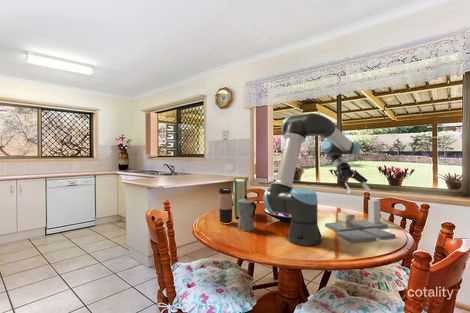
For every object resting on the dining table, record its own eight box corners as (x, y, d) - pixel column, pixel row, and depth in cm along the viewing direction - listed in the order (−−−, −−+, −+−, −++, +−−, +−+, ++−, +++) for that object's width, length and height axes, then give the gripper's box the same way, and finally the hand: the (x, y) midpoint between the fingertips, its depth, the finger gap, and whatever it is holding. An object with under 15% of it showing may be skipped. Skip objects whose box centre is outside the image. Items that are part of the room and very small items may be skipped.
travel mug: (220, 221, 150) (219, 188, 150) (232, 221, 150) (232, 187, 150) (218, 224, 142) (218, 189, 142) (232, 224, 142) (231, 189, 142)
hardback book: (247, 218, 155) (246, 180, 155) (235, 218, 155) (234, 180, 155) (244, 212, 173) (244, 177, 173) (233, 212, 173) (233, 177, 172)
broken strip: (352, 243, 110) (352, 239, 110) (335, 235, 121) (335, 232, 121) (395, 237, 116) (395, 234, 116) (376, 230, 127) (376, 227, 127)
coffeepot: (232, 227, 137) (231, 194, 136) (246, 224, 142) (245, 193, 142) (248, 234, 124) (248, 198, 124) (263, 231, 129) (262, 196, 129)
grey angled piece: (339, 232, 124) (339, 205, 124) (324, 226, 136) (324, 201, 136) (388, 227, 132) (387, 201, 132) (370, 221, 144) (370, 198, 143)
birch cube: (345, 227, 129) (345, 215, 129) (338, 223, 134) (337, 212, 134) (355, 226, 130) (355, 214, 130) (347, 223, 136) (347, 212, 136)
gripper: (355, 169, 167) (373, 194, 153) (323, 170, 161) (338, 197, 147) (361, 161, 162) (380, 187, 148) (328, 162, 156) (344, 189, 141)
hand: (359, 192), depth 147 cm, fingers open, 13 cm apart
